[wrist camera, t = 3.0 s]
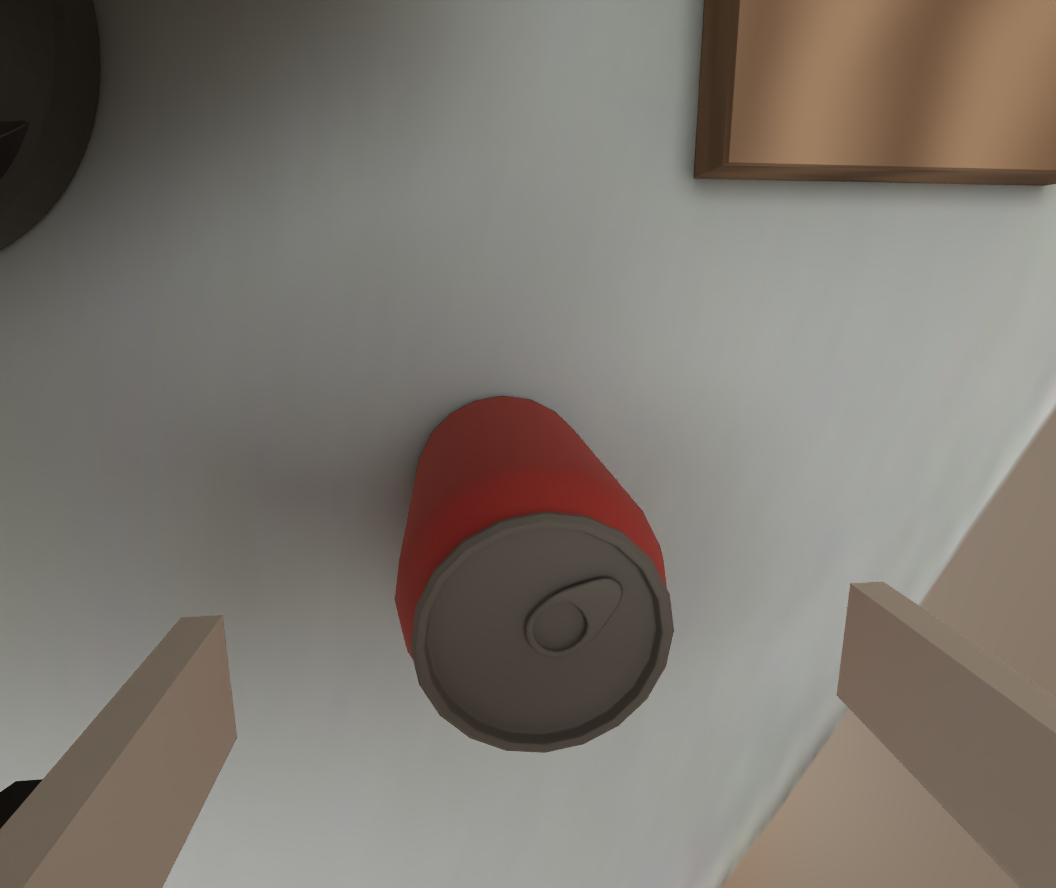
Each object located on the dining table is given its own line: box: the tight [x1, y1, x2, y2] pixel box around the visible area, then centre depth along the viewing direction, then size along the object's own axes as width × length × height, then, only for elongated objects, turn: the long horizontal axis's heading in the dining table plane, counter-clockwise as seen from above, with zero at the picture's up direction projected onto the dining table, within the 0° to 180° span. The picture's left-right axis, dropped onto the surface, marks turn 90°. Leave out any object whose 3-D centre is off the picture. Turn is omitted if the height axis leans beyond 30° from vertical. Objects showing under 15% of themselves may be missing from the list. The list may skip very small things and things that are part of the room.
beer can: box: [395, 396, 674, 753], centre depth 19 cm, size 7×7×12 cm
